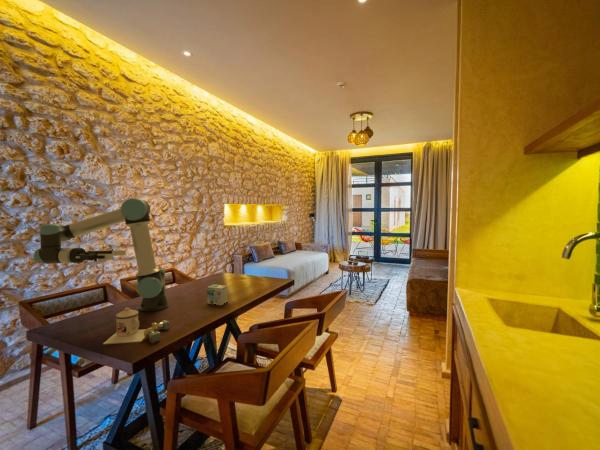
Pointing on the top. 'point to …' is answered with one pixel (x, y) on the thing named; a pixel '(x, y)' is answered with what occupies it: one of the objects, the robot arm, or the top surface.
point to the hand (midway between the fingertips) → (119, 254)
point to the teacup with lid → (127, 322)
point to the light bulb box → (217, 294)
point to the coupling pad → (126, 338)
